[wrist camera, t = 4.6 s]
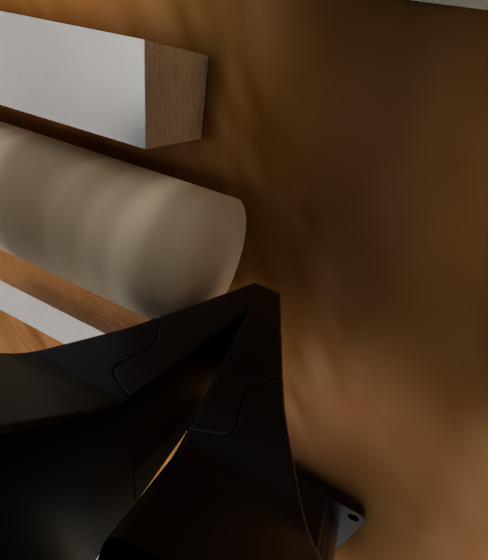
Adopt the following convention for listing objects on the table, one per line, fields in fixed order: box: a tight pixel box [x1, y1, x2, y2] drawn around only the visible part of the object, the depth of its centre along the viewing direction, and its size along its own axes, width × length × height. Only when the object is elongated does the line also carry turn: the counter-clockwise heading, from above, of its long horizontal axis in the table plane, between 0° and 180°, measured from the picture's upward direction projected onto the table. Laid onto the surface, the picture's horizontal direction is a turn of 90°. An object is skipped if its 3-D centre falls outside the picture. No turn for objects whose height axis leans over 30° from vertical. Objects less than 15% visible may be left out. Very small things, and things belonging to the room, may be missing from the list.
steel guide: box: [0, 11, 208, 344], centre depth 11 cm, size 11×10×2 cm
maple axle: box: [0, 121, 246, 320], centre depth 10 cm, size 12×4×4 cm, turn 80°
